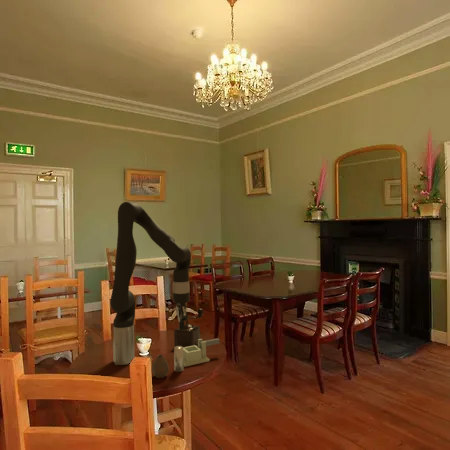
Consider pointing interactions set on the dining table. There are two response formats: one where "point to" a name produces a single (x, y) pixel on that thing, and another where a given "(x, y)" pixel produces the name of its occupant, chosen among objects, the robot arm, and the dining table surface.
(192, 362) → the dock
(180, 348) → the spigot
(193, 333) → the dark piece
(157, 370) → the vase
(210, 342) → the pin
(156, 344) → the dining table surface
